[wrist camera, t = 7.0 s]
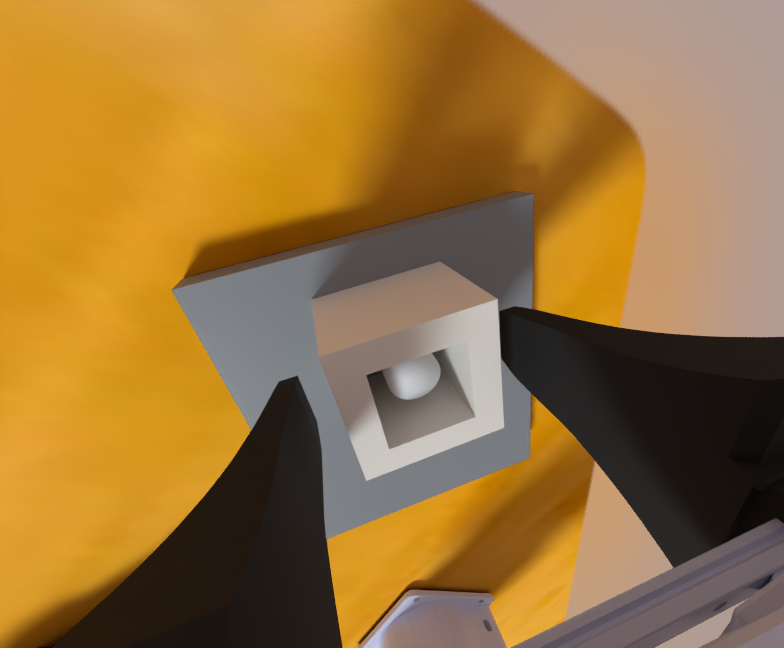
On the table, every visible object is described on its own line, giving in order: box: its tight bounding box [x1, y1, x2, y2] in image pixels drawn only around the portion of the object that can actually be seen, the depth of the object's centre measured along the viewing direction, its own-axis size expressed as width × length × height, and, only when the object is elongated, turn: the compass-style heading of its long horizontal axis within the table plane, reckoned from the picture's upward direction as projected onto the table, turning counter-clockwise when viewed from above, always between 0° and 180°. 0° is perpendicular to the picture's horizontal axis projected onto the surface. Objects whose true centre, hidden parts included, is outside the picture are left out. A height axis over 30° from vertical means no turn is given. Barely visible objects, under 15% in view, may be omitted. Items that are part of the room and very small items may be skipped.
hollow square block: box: [311, 262, 504, 481], centre depth 11 cm, size 5×5×4 cm
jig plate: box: [172, 191, 534, 539], centre depth 14 cm, size 15×13×4 cm
